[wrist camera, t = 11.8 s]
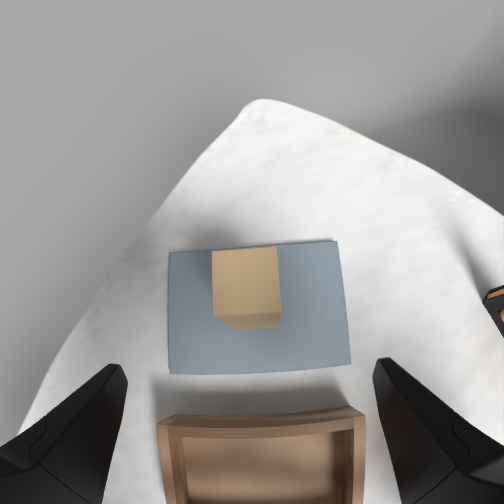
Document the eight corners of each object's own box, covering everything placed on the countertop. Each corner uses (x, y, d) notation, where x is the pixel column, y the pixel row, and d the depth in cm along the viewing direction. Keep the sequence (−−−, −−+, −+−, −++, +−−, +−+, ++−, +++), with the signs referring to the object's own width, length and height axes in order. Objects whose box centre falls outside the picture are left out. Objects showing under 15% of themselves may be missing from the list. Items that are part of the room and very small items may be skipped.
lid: (347, 363, 22) (396, 368, 12) (173, 373, 22) (113, 381, 13) (334, 245, 25) (366, 183, 16) (173, 256, 26) (123, 203, 16)
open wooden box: (349, 506, 17) (360, 527, 13) (185, 512, 18) (172, 533, 14) (350, 406, 20) (365, 415, 17) (174, 414, 21) (156, 424, 17)
